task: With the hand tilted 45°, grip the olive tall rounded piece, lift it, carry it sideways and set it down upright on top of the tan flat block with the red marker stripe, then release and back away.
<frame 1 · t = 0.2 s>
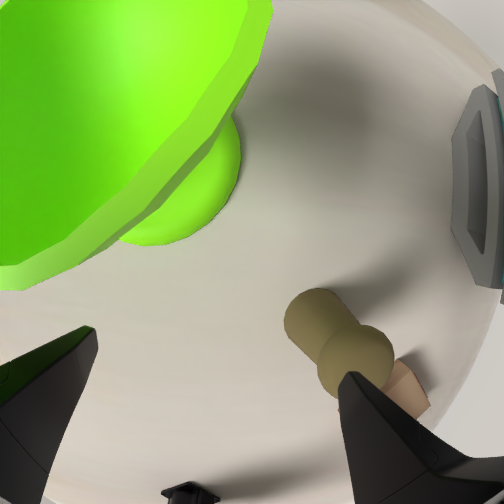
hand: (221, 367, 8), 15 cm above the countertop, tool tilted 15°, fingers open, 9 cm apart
olive tall rounded piece: (314, 318, 25), on the countertop
tan flat block: (382, 402, 27), on the countertop
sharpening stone: (469, 190, 25), on the countertop
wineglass: (152, 157, 22), on the countertop
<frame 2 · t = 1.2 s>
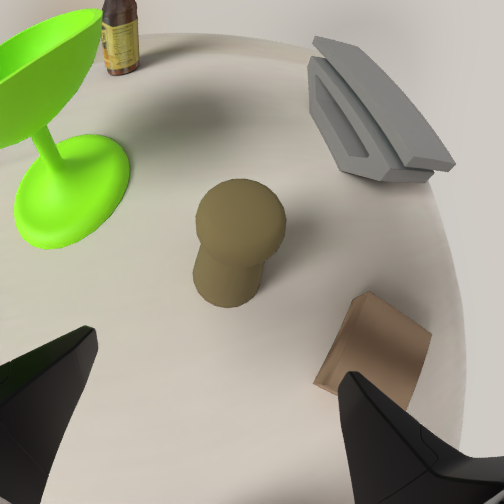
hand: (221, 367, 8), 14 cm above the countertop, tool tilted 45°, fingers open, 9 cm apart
olive tall rounded piece: (226, 275, 24), on the countertop
tan flat block: (370, 360, 23), on the countertop
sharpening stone: (346, 141, 35), on the countertop
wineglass: (67, 186, 25), on the countertop
sauce bottle: (123, 70, 35), on the countertop
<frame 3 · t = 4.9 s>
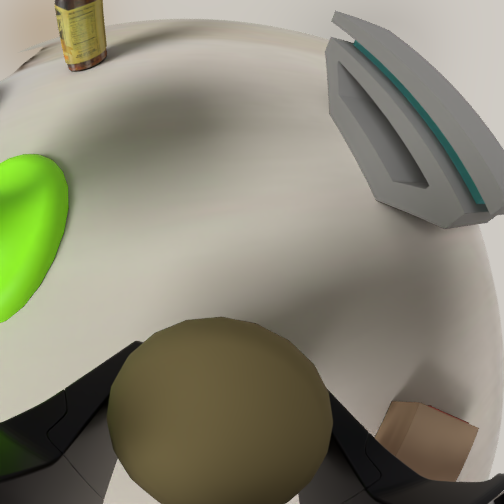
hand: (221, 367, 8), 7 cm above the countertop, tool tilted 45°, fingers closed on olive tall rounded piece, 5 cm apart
olive tall rounded piece: (210, 389, 14), on the countertop, touching gripper
tan flat block: (403, 467, 12), on the countertop
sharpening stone: (379, 155, 25), on the countertop
sauce bottle: (87, 64, 25), on the countertop
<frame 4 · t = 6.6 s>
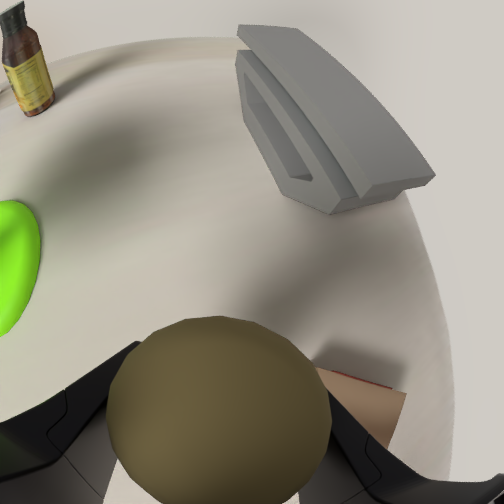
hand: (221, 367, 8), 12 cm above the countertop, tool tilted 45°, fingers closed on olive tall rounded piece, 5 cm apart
olive tall rounded piece: (210, 388, 14), point 5 cm above the countertop, touching gripper
tan flat block: (331, 429, 18), on the countertop
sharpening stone: (291, 150, 30), on the countertop
sauce bottle: (40, 107, 27), on the countertop
when the fingers open (11 cm above the countertop, at t = 8.3 s): olive tall rounded piece drops 1 cm, resting on tan flat block.
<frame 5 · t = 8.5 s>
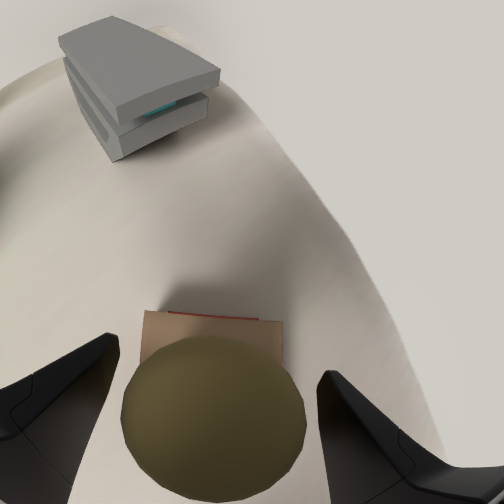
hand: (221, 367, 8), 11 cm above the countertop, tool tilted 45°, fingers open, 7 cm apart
olive tall rounded piece: (209, 388, 15), point 3 cm above the countertop, touching tan flat block
tan flat block: (209, 383, 18), on the countertop
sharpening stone: (124, 121, 27), on the countertop
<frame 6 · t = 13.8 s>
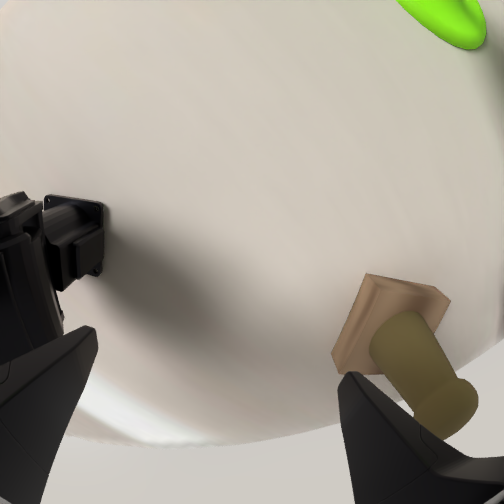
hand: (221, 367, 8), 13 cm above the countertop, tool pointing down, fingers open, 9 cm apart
olive tall rounded piece: (397, 337, 21), point 3 cm above the countertop, touching tan flat block
tan flat block: (385, 321, 24), on the countertop
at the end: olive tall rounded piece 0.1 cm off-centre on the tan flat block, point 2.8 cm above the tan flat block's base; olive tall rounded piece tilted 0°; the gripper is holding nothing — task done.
